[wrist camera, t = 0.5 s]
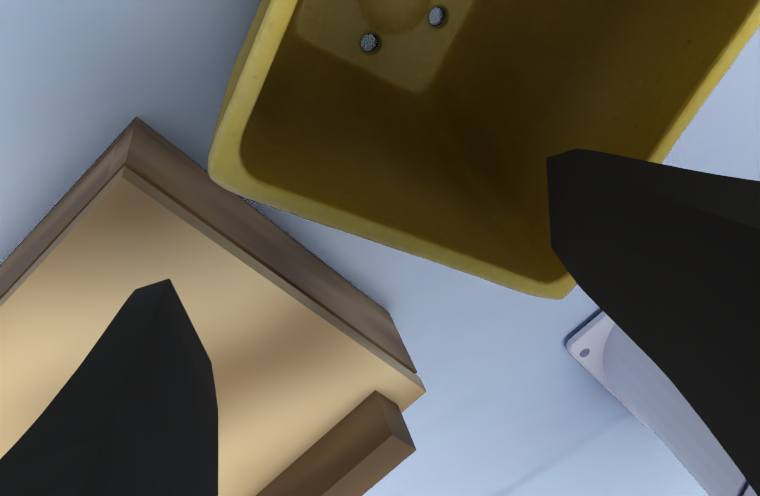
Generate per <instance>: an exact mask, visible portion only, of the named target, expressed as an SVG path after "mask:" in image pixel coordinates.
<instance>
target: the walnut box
mask: <svg viewBox="0 0 760 496" xmlns="http://www.w3.org/2000/svg"><path fill="white" fill-rule="evenodd" d="M124 166H126V167H127V168H128V169H130V170H131V171H133V172H134V173H135V174H137V175H138V176H140V177H141V178H142V179H144V180H145V181H147V182H148V183H149V184H151V185H152V186H153V187H155V188H156V189H158V190H159V191H160V192H162V193H163V194H165V195H166V196H167V197H169V198H170V199H172V200H173V201H174V202H176V203H177V204H179V205H180V206H181V207H183V208H184V209H186V210H187V211H188V212H190V213H191V214H192V215H194V216H195V217H197V218H198V219H199V220H201V221H202V222H204V223H205V224H206V225H208V226H209V227H211V228H212V229H213V230H215V231H216V232H218V233H219V234H220V235H222V236H223V237H225V238H226V239H227V240H229V241H230V242H231V243H233V244H234V245H236V246H237V247H238V248H240V249H241V250H243V251H244V252H245V253H247V254H248V255H250V256H251V257H252V258H254V259H255V260H257V261H258V262H259V263H261V264H262V265H264V266H265V267H266V268H268V269H269V270H270V271H272V272H273V273H275V274H276V275H277V276H279V277H280V278H282V279H283V280H284V281H286V282H287V283H289V284H290V285H291V286H293V287H294V288H296V289H297V290H298V291H300V292H301V293H302V294H304V295H305V296H307V297H308V298H309V299H311V300H312V301H314V302H315V303H316V304H318V305H319V306H321V307H322V308H323V309H325V310H326V311H328V312H329V313H330V314H332V315H333V316H335V317H336V318H337V319H339V320H340V321H341V322H343V323H344V324H346V325H347V326H348V327H350V328H351V329H353V330H354V331H355V332H357V333H358V334H360V335H361V336H362V337H364V338H365V339H367V340H368V341H369V342H371V343H372V344H374V345H375V346H376V347H378V348H379V349H380V350H382V351H383V352H385V353H386V354H387V355H389V356H390V357H392V358H393V359H394V360H396V361H397V362H399V363H400V364H401V365H403V366H404V367H406V368H407V369H408V370H410V371H411V372H412V373H414V374H415V373H417V371H416V369H415V367H414V365H413V362H412V360H411V358H410V356H409V354H408V352H407V350H406V348H405V346H404V344H403V341H402V339H401V337H400V335H399V333H398V331H397V329H396V327H395V325H394V323H393V320H392V318H391V316H390V314H389V313H388V312H387V311H385V310H384V309H383V308H382V307H380V306H379V305H378V304H376V303H375V302H374V301H373V300H371V299H370V298H369V297H367V296H366V295H365V294H363V293H362V292H361V291H360V290H358V289H357V288H356V287H354V286H353V285H352V284H351V283H349V282H348V281H347V280H345V279H344V278H343V277H342V276H340V275H339V274H338V273H336V272H335V271H334V270H333V269H331V268H330V267H329V266H327V265H326V264H325V263H324V262H322V261H321V260H320V259H318V258H317V257H316V256H315V255H313V254H312V253H311V252H309V251H308V250H307V249H306V248H304V247H303V246H302V245H300V244H299V243H298V242H297V241H295V240H294V239H293V238H291V237H290V236H289V235H288V234H286V233H285V232H284V231H282V230H281V229H280V228H279V227H277V226H276V225H275V224H273V223H272V222H271V221H270V220H268V219H267V218H266V217H264V216H263V215H262V214H261V213H259V212H258V211H257V210H255V209H254V208H253V207H252V206H250V205H249V204H248V203H246V202H245V201H244V200H243V199H241V198H240V197H239V196H237V195H236V194H235V193H233V192H230V191H228V190H226V189H224V188H223V187H221V186H220V185H218V184H217V183H215V182H214V181H213V180H212V179H211V178H210V176H209V174H208V172H207V171H205V170H204V169H203V168H201V167H200V166H199V165H198V164H196V163H195V162H194V161H192V160H191V159H190V158H189V157H187V156H186V155H185V154H183V153H182V152H181V151H180V150H178V149H177V148H176V147H174V146H173V145H172V144H171V143H169V142H168V141H167V140H165V139H164V138H163V137H162V136H160V135H159V134H158V133H156V132H155V131H154V130H153V129H151V128H150V127H149V126H147V125H146V124H145V123H144V122H142V121H141V120H140V119H138V118H137V117H136V118H135V119H134V120H133V121H132V122H131V123H130V124H129V125H128V126H127V128H126V129H125V130H124V131H123V132H122V133H121V134H120V135H119V136H118V137H117V139H116V140H115V141H114V142H113V143H112V144H111V145H110V146H109V147H108V148H107V149H106V151H105V152H104V153H103V154H102V155H101V156H100V157H99V158H98V159H97V160H96V162H95V163H94V164H93V165H92V166H91V167H90V168H89V169H88V170H87V171H86V172H85V174H84V175H83V176H82V177H81V178H80V179H79V180H78V181H77V182H76V183H75V185H74V186H73V187H72V188H71V189H70V190H69V191H68V192H67V193H66V194H65V195H64V197H63V198H62V199H61V200H60V201H59V202H58V203H57V204H56V205H55V206H54V208H53V209H52V210H51V211H50V212H49V213H48V214H47V215H46V216H45V217H44V218H43V220H42V221H41V222H40V223H39V224H38V225H37V226H36V227H35V228H34V229H33V231H32V232H31V233H30V234H29V235H28V236H27V237H26V238H25V239H24V240H23V241H22V243H21V244H20V245H19V246H18V247H17V248H16V249H15V250H14V251H13V252H12V254H11V255H10V256H9V257H8V258H7V259H6V260H5V261H4V262H3V263H2V264H1V266H0V300H1V298H2V297H3V296H4V295H5V294H6V293H7V292H8V291H9V290H10V289H11V288H12V287H13V286H14V284H15V283H16V282H17V281H18V280H19V279H20V278H21V277H22V276H23V275H24V274H25V273H26V271H27V270H28V269H29V268H30V267H31V266H32V265H33V264H34V263H35V262H36V261H37V260H38V259H39V257H40V256H41V255H42V254H43V253H44V252H45V251H46V250H47V249H48V248H49V247H50V246H51V244H52V243H53V242H54V241H55V240H56V239H57V238H58V237H59V236H60V235H61V234H62V233H63V232H64V230H65V229H66V228H67V227H68V226H69V225H70V224H71V223H72V222H73V221H74V220H75V219H76V217H77V216H78V215H79V214H80V213H81V212H82V211H83V210H84V209H85V208H86V207H87V206H88V205H89V203H90V202H91V201H92V200H93V199H94V198H95V197H96V196H97V195H98V194H99V193H100V192H101V191H102V189H103V188H104V187H105V186H106V185H107V184H108V183H109V182H110V181H111V180H112V179H113V178H114V176H115V175H116V174H117V173H118V172H119V171H120V170H121V169H122V168H123V167H124Z"/></svg>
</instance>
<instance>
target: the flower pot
mask: <svg viewBox="0 0 760 496" xmlns="http://www.w3.org/2000/svg"><path fill="white" fill-rule="evenodd" d="M435 7H440V8H442V9H443V10H444V12H445V18H444V20H443V22H442V23H441V24H440V25H438V26H434V25H431V24H430V21H429V13H430V11H431V10H432V9H433V8H435ZM759 26H760V0H261V2H260V4H259V7H258V9H257V12H256V14H255V17H254V19H253V21H252V24H251V26H250V29H249V31H248V34H247V36H246V38H245V41H244V43H243V46H242V48H241V50H240V53H239V55H238V57H237V60H236V62H235V64H234V67H233V70H232V73H231V75H230V78H229V81H228V84H227V88H226V92H225V95H224V99H223V103H222V107H221V111H220V114H219V117H218V121H217V125H216V129H215V132H214V136H213V139H212V143H211V147H210V151H209V156H208V162H207V163H208V174H209V176H210V178H211V179H212V180H213V181H214V182H215V183H217V184H218V185H220V186H221V187H223V188H224V189H226V190H228V191H230V192H233V193H235V194H237V195H240V196H242V197H245V198H247V199H249V200H253V201H256V202H259V203H262V204H265V205H268V206H271V207H274V208H276V209H279V210H282V211H285V212H289V213H292V214H294V215H297V216H299V217H302V218H305V219H308V220H311V221H314V222H317V223H320V224H323V225H326V226H329V227H332V228H335V229H339V230H342V231H345V232H348V233H351V234H354V235H357V236H360V237H362V238H365V239H368V240H371V241H374V242H377V243H380V244H383V245H386V246H388V247H391V248H394V249H397V250H400V251H403V252H406V253H409V254H412V255H416V256H419V257H422V258H425V259H428V260H431V261H434V262H437V263H440V264H442V265H445V266H448V267H451V268H454V269H456V270H459V271H462V272H465V273H468V274H471V275H474V276H477V277H480V278H483V279H485V280H488V281H491V282H493V283H496V284H499V285H502V286H505V287H507V288H510V289H513V290H516V291H519V292H522V293H525V294H529V295H533V296H537V297H543V298H548V299H563V298H564V297H565V296H567V295H568V294H569V293H570V291H571V290H572V289H573V288H574V287H575V285H576V284H577V283H576V281H575V280H574V279H573V277H572V276H571V275H570V273H569V272H568V271H567V269H566V268H565V267H564V265H563V264H562V262H561V261H560V259H559V258H558V257H557V255H556V254H555V252H554V251H553V249H552V248H551V236H550V219H549V202H548V185H547V168H546V158H548V157H551V156H554V155H557V154H560V153H563V152H567V151H570V150H573V149H586V150H593V151H599V152H605V153H610V154H615V155H620V156H625V157H630V158H635V159H639V160H644V161H649V162H654V163H658V164H661V163H662V162H663V160H664V159H665V157H666V156H667V155H668V153H669V152H670V150H671V149H672V147H673V146H674V144H675V143H676V141H677V140H678V139H679V137H680V136H681V134H682V133H683V131H684V130H685V129H686V127H687V126H688V125H689V123H690V122H691V120H692V119H693V118H694V116H695V115H696V113H697V112H698V111H699V109H700V108H701V106H702V105H703V103H704V102H705V100H706V99H707V98H708V96H709V95H710V93H711V92H712V91H713V89H714V88H715V87H716V85H717V84H718V83H719V81H720V80H721V79H722V77H723V76H724V75H725V73H726V72H727V71H728V69H729V68H730V67H731V65H732V64H733V62H734V61H735V59H736V58H737V56H738V55H739V53H740V52H741V51H742V49H743V48H744V46H745V45H746V44H747V42H748V41H749V40H750V38H751V37H752V36H753V34H754V33H755V31H756V30H757V28H758V27H759ZM368 33H373V34H374V35H376V37H377V39H378V45H377V47H376V49H375V50H373V51H370V52H366V51H365V50H363V48H362V47H361V40H362V38H363V36H364V35H365V34H368Z"/></svg>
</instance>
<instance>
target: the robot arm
mask: <svg viewBox="0 0 760 496" xmlns="http://www.w3.org/2000/svg"><path fill="white" fill-rule="evenodd" d="M546 168H547V185H548V202H549V219H550V236H551V248H552V249H553V251H554V252H555V254H556V255H557V257H558V258H559V259H560V261H561V262H562V264H563V265H564V267H565V268H566V269H567V271H568V272H569V273H570V275H571V276H572V277H573V279H574V280H575V281H576V283H577V284H578V285H579V286H580V287H581V288H582V290H583V291H584V292H585V293H586V294H587V295H588V296H589V297H590V298H591V299H592V300H593V301H594V302H595V303H596V304H597V305H598V306H599V307H600V308H601V309H602V310H603V311H602V312H601V313H600V314H599V315H598V316H596V317H595V318H594V319H593V320H592V321H590V322H589V323H588V324H587V325H586V326H584V327H583V328H582V329H581V330H580V331H578V332H577V333H576V334H575V335H574V336H573V337H571V338H570V339H569V340H568V342H567V344H566V348H567V350H568V351H569V353H570V354H571V355H572V356H573V357H574V358H575V359H576V360H577V361H578V362H579V363H580V364H581V365H583V366H584V367H585V368H586V369H587V370H588V371H589V372H590V373H591V374H592V375H593V376H594V377H595V378H596V379H597V380H598V381H599V382H600V383H601V384H602V385H603V386H604V387H605V388H606V389H607V390H608V391H609V392H610V393H611V394H613V395H614V396H615V397H616V398H617V399H618V400H619V401H620V402H621V403H622V404H623V405H624V406H625V407H626V408H627V409H628V410H629V411H630V412H631V413H632V414H633V415H634V416H635V417H636V418H637V419H638V420H639V421H640V422H642V423H643V424H644V425H645V426H646V427H650V428H651V429H652V430H653V431H654V432H655V433H656V435H657V436H658V437H659V438H660V439H661V440H662V442H663V443H664V444H665V445H666V446H667V447H668V449H669V450H670V451H671V452H672V453H673V454H674V455H675V457H676V458H677V459H678V460H679V461H680V462H681V464H682V465H683V466H684V467H685V468H686V469H687V471H688V472H689V473H690V474H691V475H692V476H693V477H694V479H695V480H696V481H697V482H698V483H699V484H700V486H701V487H702V488H703V489H704V490H705V491H706V493H707V494H708V495H709V496H760V181H754V180H747V179H741V178H734V177H728V176H722V175H716V174H710V173H704V172H699V171H693V170H688V169H683V168H678V167H673V166H668V165H663V164H658V163H654V162H649V161H644V160H639V159H635V158H630V157H625V156H620V155H615V154H610V153H605V152H599V151H593V150H586V149H573V150H570V151H567V152H563V153H560V154H557V155H554V156H551V157H548V158H546ZM0 496H218V405H217V397H216V389H215V383H214V376H213V370H212V363H211V360H210V358H209V356H208V354H207V352H206V350H205V348H204V346H203V344H202V342H201V340H200V338H199V336H198V334H197V332H196V330H195V328H194V326H193V324H192V322H191V320H190V318H189V316H188V314H187V312H186V310H185V308H184V306H183V304H182V302H181V300H180V298H179V296H178V294H177V292H176V290H175V288H174V286H173V284H172V282H171V280H170V278H169V279H166V280H163V281H160V282H156V283H153V284H150V285H147V286H144V287H141V288H138V289H135V290H134V291H133V293H132V294H131V295H130V296H129V297H128V299H127V300H126V301H125V303H124V304H123V306H122V307H121V308H120V310H119V311H118V313H117V314H116V315H115V317H114V318H113V320H112V321H111V323H110V324H109V325H108V327H107V328H106V330H105V331H104V333H103V334H102V335H101V337H100V338H99V340H98V341H97V342H96V344H95V345H94V347H93V348H92V349H91V351H90V352H89V353H88V355H87V356H86V358H85V359H84V360H83V362H82V363H81V365H80V366H79V367H78V369H77V370H76V371H75V372H74V374H73V375H72V376H71V377H70V379H69V380H68V381H67V382H66V384H65V385H64V386H63V387H62V389H61V390H60V391H59V392H58V394H57V395H56V396H55V397H54V399H53V400H52V401H51V403H50V404H49V405H48V406H47V408H46V409H45V410H44V411H43V413H42V414H41V415H40V416H39V417H38V418H37V420H36V421H35V422H34V423H33V424H32V425H31V427H30V428H29V429H28V430H27V431H26V432H25V433H24V434H23V435H22V437H21V438H20V439H19V440H18V441H17V442H16V443H15V444H14V445H13V446H12V447H11V448H10V449H9V450H8V452H7V453H6V454H5V455H4V456H3V457H2V458H1V459H0Z"/></svg>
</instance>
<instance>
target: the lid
mask: <svg viewBox="0 0 760 496" xmlns="http://www.w3.org/2000/svg"><path fill="white" fill-rule="evenodd" d="M169 278H170V280H171V282H172V284H173V286H174V288H175V290H176V292H177V294H178V296H179V298H180V300H181V302H182V304H183V306H184V308H185V310H186V312H187V314H188V316H189V318H190V320H191V322H192V324H193V326H194V328H195V330H196V332H197V334H198V336H199V338H200V340H201V342H202V344H203V346H204V348H205V350H206V352H207V354H208V356H209V358H210V360H211V363H212V370H213V376H214V383H215V389H216V397H217V405H218V496H362V495H363V494H365V493H366V492H367V491H368V490H369V489H370V488H372V487H373V486H374V485H375V484H376V483H378V482H379V481H380V480H381V479H382V478H383V477H385V476H386V475H387V474H388V473H389V472H391V471H392V470H393V469H394V468H395V467H396V466H398V465H399V464H400V463H401V462H402V461H404V460H405V459H406V458H407V457H408V456H409V455H411V454H412V453H413V452H414V451H415V450H416V448H415V446H414V443H413V441H412V438H411V436H410V433H409V431H408V428H407V426H406V424H405V421H404V419H403V416H402V414H401V413H402V412H403V411H404V410H405V409H406V408H408V407H409V406H410V405H411V404H412V403H413V402H414V401H416V400H417V399H418V398H419V397H420V396H421V395H423V394H424V393H425V392H426V390H425V388H424V386H423V384H422V381H421V379H420V378H419V377H418V376H417V375H415V374H414V373H412V372H411V371H410V370H408V369H407V368H406V367H404V366H403V365H401V364H400V363H399V362H397V361H396V360H394V359H393V358H392V357H390V356H389V355H387V354H386V353H385V352H383V351H382V350H380V349H379V348H378V347H376V346H375V345H374V344H372V343H371V342H369V341H368V340H367V339H365V338H364V337H362V336H361V335H360V334H358V333H357V332H355V331H354V330H353V329H351V328H350V327H348V326H347V325H346V324H344V323H343V322H341V321H340V320H339V319H337V318H336V317H335V316H333V315H332V314H330V313H329V312H328V311H326V310H325V309H323V308H322V307H321V306H319V305H318V304H316V303H315V302H314V301H312V300H311V299H309V298H308V297H307V296H305V295H304V294H302V293H301V292H300V291H298V290H297V289H296V288H294V287H293V286H291V285H290V284H289V283H287V282H286V281H284V280H283V279H282V278H280V277H279V276H277V275H276V274H275V273H273V272H272V271H270V270H269V269H268V268H266V267H265V266H264V265H262V264H261V263H259V262H258V261H257V260H255V259H254V258H252V257H251V256H250V255H248V254H247V253H245V252H244V251H243V250H241V249H240V248H238V247H237V246H236V245H234V244H233V243H231V242H230V241H229V240H227V239H226V238H225V237H223V236H222V235H220V234H219V233H218V232H216V231H215V230H213V229H212V228H211V227H209V226H208V225H206V224H205V223H204V222H202V221H201V220H199V219H198V218H197V217H195V216H194V215H192V214H191V213H190V212H188V211H187V210H186V209H184V208H183V207H181V206H180V205H179V204H177V203H176V202H174V201H173V200H172V199H170V198H169V197H167V196H166V195H165V194H163V193H162V192H160V191H159V190H158V189H156V188H155V187H153V186H152V185H151V184H149V183H148V182H147V181H145V180H144V179H142V178H141V177H140V176H138V175H137V174H135V173H134V172H133V171H131V170H130V169H128V168H127V167H126V166H124V167H123V168H122V169H121V170H120V171H119V172H118V173H117V174H116V175H115V176H114V178H113V179H112V180H111V181H110V182H109V183H108V184H107V185H106V186H105V187H104V188H103V189H102V191H101V192H100V193H99V194H98V195H97V196H96V197H95V198H94V199H93V200H92V201H91V202H90V203H89V205H88V206H87V207H86V208H85V209H84V210H83V211H82V212H81V213H80V214H79V215H78V216H77V217H76V219H75V220H74V221H73V222H72V223H71V224H70V225H69V226H68V227H67V228H66V229H65V230H64V232H63V233H62V234H61V235H60V236H59V237H58V238H57V239H56V240H55V241H54V242H53V243H52V244H51V246H50V247H49V248H48V249H47V250H46V251H45V252H44V253H43V254H42V255H41V256H40V257H39V259H38V260H37V261H36V262H35V263H34V264H33V265H32V266H31V267H30V268H29V269H28V270H27V271H26V273H25V274H24V275H23V276H22V277H21V278H20V279H19V280H18V281H17V282H16V283H15V284H14V286H13V287H12V288H11V289H10V290H9V291H8V292H7V293H6V294H5V295H4V296H3V297H2V298H1V300H0V459H1V458H2V457H3V456H4V455H5V454H6V453H7V452H8V450H9V449H10V448H11V447H12V446H13V445H14V444H15V443H16V442H17V441H18V440H19V439H20V438H21V437H22V435H23V434H24V433H25V432H26V431H27V430H28V429H29V428H30V427H31V425H32V424H33V423H34V422H35V421H36V420H37V418H38V417H39V416H40V415H41V414H42V413H43V411H44V410H45V409H46V408H47V406H48V405H49V404H50V403H51V401H52V400H53V399H54V397H55V396H56V395H57V394H58V392H59V391H60V390H61V389H62V387H63V386H64V385H65V384H66V382H67V381H68V380H69V379H70V377H71V376H72V375H73V374H74V372H75V371H76V370H77V369H78V367H79V366H80V365H81V363H82V362H83V360H84V359H85V358H86V356H87V355H88V353H89V352H90V351H91V349H92V348H93V347H94V345H95V344H96V342H97V341H98V340H99V338H100V337H101V335H102V334H103V333H104V331H105V330H106V328H107V327H108V325H109V324H110V323H111V321H112V320H113V318H114V317H115V315H116V314H117V313H118V311H119V310H120V308H121V307H122V306H123V304H124V303H125V301H126V300H127V299H128V297H129V296H130V295H131V294H132V293H133V291H134V290H135V289H138V288H141V287H144V286H147V285H150V284H153V283H156V282H160V281H163V280H166V279H169Z"/></svg>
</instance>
